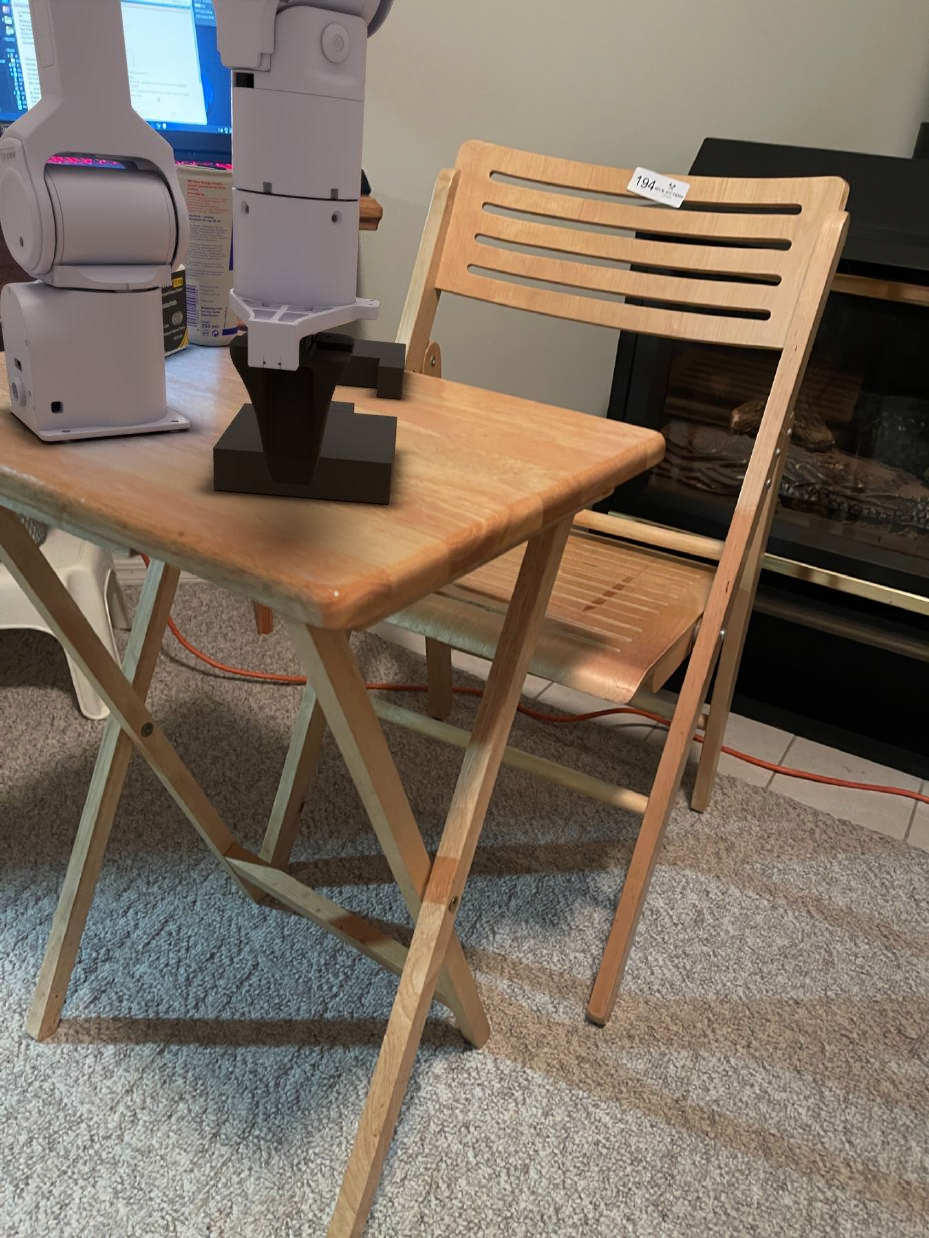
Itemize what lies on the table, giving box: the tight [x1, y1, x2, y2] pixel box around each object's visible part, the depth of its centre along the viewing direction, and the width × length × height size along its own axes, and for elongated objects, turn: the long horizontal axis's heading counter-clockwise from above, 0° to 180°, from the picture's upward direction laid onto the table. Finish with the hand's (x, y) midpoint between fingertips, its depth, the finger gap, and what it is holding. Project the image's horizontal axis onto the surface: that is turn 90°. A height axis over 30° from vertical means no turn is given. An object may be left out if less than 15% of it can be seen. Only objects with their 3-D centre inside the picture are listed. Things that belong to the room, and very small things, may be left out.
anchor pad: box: [337, 338, 407, 400], centre depth 79 cm, size 10×10×2 cm
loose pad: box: [212, 400, 398, 505], centre depth 59 cm, size 12×10×2 cm
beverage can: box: [175, 163, 239, 347], centre depth 85 cm, size 5×5×15 cm
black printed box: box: [161, 264, 189, 358], centre depth 79 cm, size 7×7×12 cm
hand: (292, 479), depth 49 cm, fingers closed
